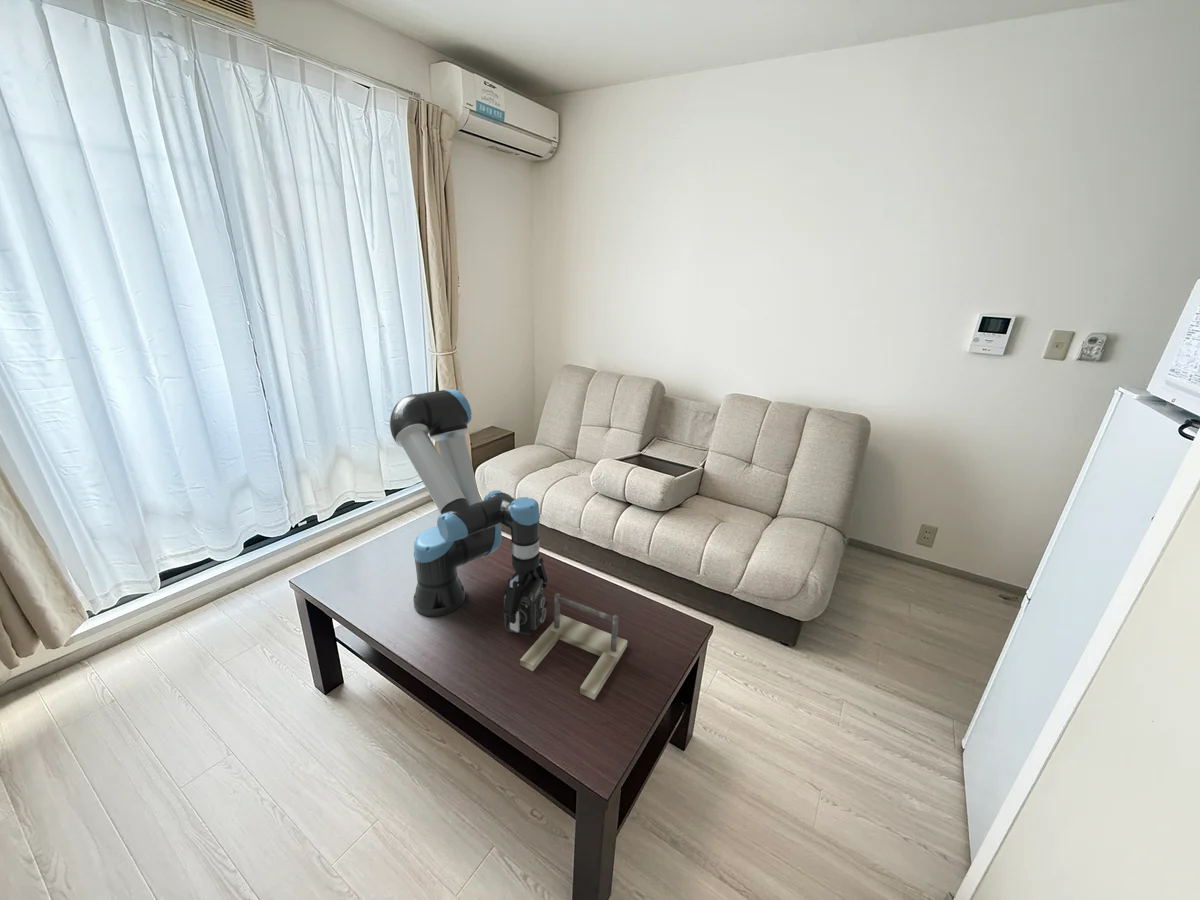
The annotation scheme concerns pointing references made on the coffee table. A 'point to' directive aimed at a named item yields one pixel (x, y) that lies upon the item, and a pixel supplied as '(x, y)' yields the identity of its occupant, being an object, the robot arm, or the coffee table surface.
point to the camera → (529, 607)
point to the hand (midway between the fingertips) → (526, 617)
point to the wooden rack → (580, 644)
